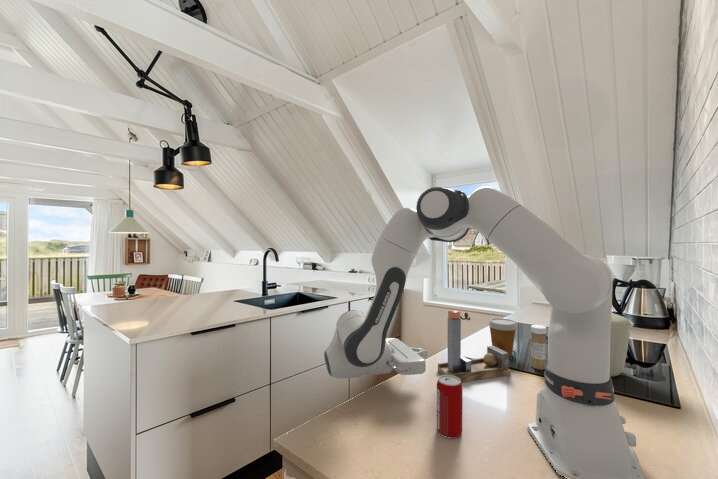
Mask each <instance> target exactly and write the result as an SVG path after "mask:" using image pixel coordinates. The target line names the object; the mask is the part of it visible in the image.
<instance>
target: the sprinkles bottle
mask: <svg viewBox="0 0 718 479" xmlns="http://www.w3.org/2000/svg"><path fill="white" fill-rule="evenodd" d="M530 333H531V338H530V339H531V342H530V343H531V344H530V345H531V346H530V358H531V359H530V366H531V367H532V368H533V369H536V370H545V367H546V365H547V334H548V328H547V327H546V326H545V325H541V324H532V325H531V326H530Z"/></svg>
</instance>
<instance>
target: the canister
mask: <svg viewBox="0 0 718 479" xmlns="http://www.w3.org/2000/svg"><path fill="white" fill-rule="evenodd" d="M634 325H635V323H634V322H632V321H631V320H630V319H628V318H626V317H625V316H622V315H620V314H617V313H612V312H611V333H610V377H611V378H612V377H617V376H619V375H621V374H622V373H623V371H624V369H625V365H626V360H627V355H628V348H629V343H630V342H629V341H630V337H631V336H630V335H631V328H633V327H634Z"/></svg>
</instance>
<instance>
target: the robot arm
mask: <svg viewBox="0 0 718 479" xmlns="http://www.w3.org/2000/svg"><path fill="white" fill-rule="evenodd" d="M470 229H473V230H475V231H477V232H478V233H480V234H481V235H482V236H483V237H484V238H486V239H487V240H488V241H489V242H490V243H491V244H493V245H494V246H495V247H496V248H497V249H498V250H499V251H500V252H501V253H502V254H504V255H505V256H506V257H508V258H509V260H511V261H512V262H513V263H514V264H515V265H516V266H517V267H518V269H520V270H521V272H522V273H523V274H524V275H525V276H526V277H527V278H528V280H529V281H530V283H532V284H533V285H534V286H535V288H536V289H537V290H539V291H540V293H541V294H542V295H543V296H544V299H546V301H547V302H548V304H549V305H551V308H550V318H549V324H548V328H547V364H546V367H545V369H544V383H545V385H544V387H543V388H542V389H541V390H540V391H538V392H537V394H536V410H535V421H532V422H529V423H528V424H527V431H528V432H529V434H530V436H531V435H532V436H531V437H532V438H534V439H533V440H534V442H535V441H536V442H535V444H538V445H537V446H538V448H539V447H540V448H541V449H540V448H539V449H540V451H541V450H542V451H543V452H542V451H541V452H542V453H544V454H545V455H544V454H543V455H544V456H546V457H545V458H546V460H547V459H548V460H547V462H548V463H549V462H550V463H551V465H552V466H553V467H554V469H555V470H556V471H557V473H559V474H561V475H562V476H565V477H567V478H570V479H645V476H644V473H643V471H642V469H641V466H640V464H639V461H638V459H637V456H636V455H635V452H634V449H633V448H635V447H637V438H636V434H635V433H633V432H630V431H625V429H624V428H625V427H624V425H625V424H626V417H625V416H623V415H620V412H619V409H618V406H617V405H618V403H617V402H616V401H615V394H614V393H615V389H614V385H613V379H612V377H610V333H611V313H612V310H613V308H612V306H613V305H612V304H613V275H612V272H611V270H610V268H609V267H608V265H607V264H606V263H605V261H602V260H601V259H599V258H598V257H595V256H593V255H590V254H583V253H581V252H580V251H579V250H578V249H577V248H575V247H574V246H573V245H571V243H569V242H568V241H567V240H566V239H565V238H563V236H561V235H560V234H559V233H558V232H557V231H556V230H555V229H554V228H553V227H552V226H551V225H550V224H548V223H546V222H545V221H544V220H542V219H541V218H540V217H538V216H537V215H536V214H534V213H533V212H532V211H531V210H529V209H528V208H526V207H525V206H523V205H522V204H521V203H520V202H518V201H517V200H515V199H514V198H512V197H511V196H508V195H507V194H505V193H504V192H501V191H500V190H497V189H495V188H493V187H490V186H481V187H478V188H477V189H475V190H474V191H472V192H471V193H470V194H469V195H467V194H466V192H464V191H463V190H457V189H451V188H447V187H442V186H434V187H430V188H428V189H426V190H425V191H424V192H422V193H421V194H420V196H418V200H417V202H416V209H414V208H411V207H403V208H401V207H400V209H398V210H397V211H396V212H395V213H394V214H393V215H392V217H390V220H389V221H388V222H387V224H386V226H385V227H384V228H383V230H382V231H381V234H380V235H379V238H378V239H377V242H376V244H375V246H374V249H373V251H372V254H371V266H372V268H373V272H374V274H375V280H376V281H375V282H376V288H375V293H374V296H373V298H372V301H371V303H370V306H369V307H368V310H367V313H366V315H365V314H364V313H363V312H361V311H359V310H354V309H353V310H347V311H346V312H344V313H342V314H341V315H340V316H339V317H338V320H337V321H336V328H335V330H334V334H333V337H332V340H331V342H330V343H329V345H328V346H327V347H326V348H325V350H324V352H323V354H324V356H323V357H324V362H325V363H324V364H325V366H326V369H327V373H328V374H329V376H330V377H331V378H333V379H339V380H340V379H341V380H343V379H344V380H345V379H355V378H360V377H362V376H365V375H369V376H377V375H384V374H389V373H391V372H392V371H394V372H397V374H399V375H403V376H412V375H413V376H414V375H423V374H424V373H425V372H426V369H427V368H426V367H427V366H426V360H425V359H424V358H426V357H428V351H427V350H425V349H424V348H422V347H412V346H411V347H410V346H408V345H407V344H405V343H404V342H402V340H400V339H399V338H396V337H387V335H388V331H389V328H390V326H391V323H392V321H393V318H394V315H395V313H396V311H397V308H398V306H399V303H400V301H401V299H402V296H403V293H404V288H405V287H406V286H405V285H406V282H407V278H408V275H409V271H410V270H411V269H410V268H411V266H412V264H413V261H414V260H415V258H416V255H417V254H418V251H419V249H420V248H421V246H422V244H423V243H424V242H425V241H426V240H427V239H429V240H430V241H437V242H444V243H455V242H459V241H460V240H463V239H464V238H465V237H466V235H467V234H468V233H469V231H470ZM550 463H549V464H550ZM551 465H550V466H551ZM552 466H551V467H552ZM554 469H553V470H554ZM557 473H556V474H557ZM562 476H561V477H562Z"/></svg>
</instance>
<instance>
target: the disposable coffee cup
mask: <svg viewBox="0 0 718 479" xmlns="http://www.w3.org/2000/svg"><path fill="white" fill-rule="evenodd" d="M488 327H489V332H490V338H491V339H490V340H491V346H495V347H497V348H499V349H501V350H503V351H505V352H507V353H508V358H511V357H512V356H513V350H514V343H515V336H516V329H517V328H518V325H517V323H516V321H515V320H512V319H509V318H502V317H501V318H500V317H496V318H490V319H489V322H488Z"/></svg>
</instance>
